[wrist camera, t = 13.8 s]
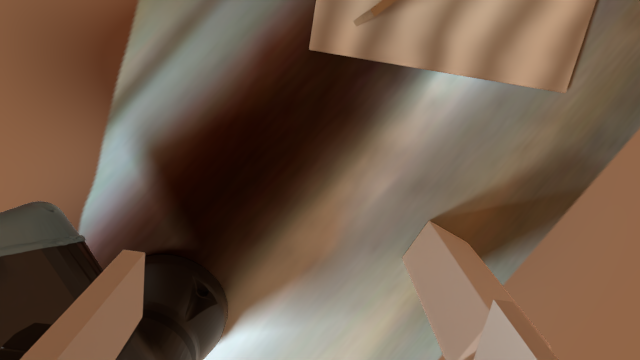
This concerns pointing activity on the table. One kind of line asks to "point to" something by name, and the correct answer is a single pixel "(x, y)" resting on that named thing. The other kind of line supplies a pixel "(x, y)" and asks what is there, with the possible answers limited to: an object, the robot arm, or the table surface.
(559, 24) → the board
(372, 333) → the table surface
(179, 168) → the table surface
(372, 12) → the hinge
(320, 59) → the table surface
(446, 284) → the milk
